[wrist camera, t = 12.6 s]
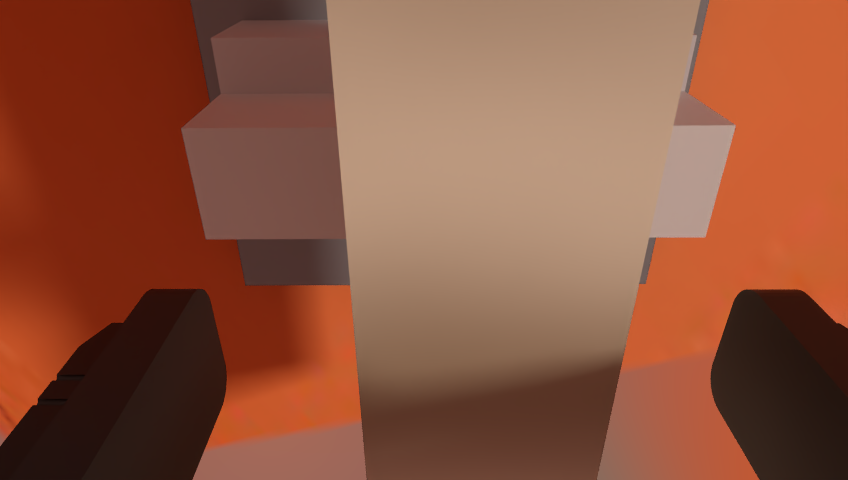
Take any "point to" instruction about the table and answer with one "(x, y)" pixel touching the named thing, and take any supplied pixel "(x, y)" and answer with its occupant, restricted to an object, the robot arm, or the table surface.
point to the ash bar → (498, 220)
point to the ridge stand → (319, 153)
